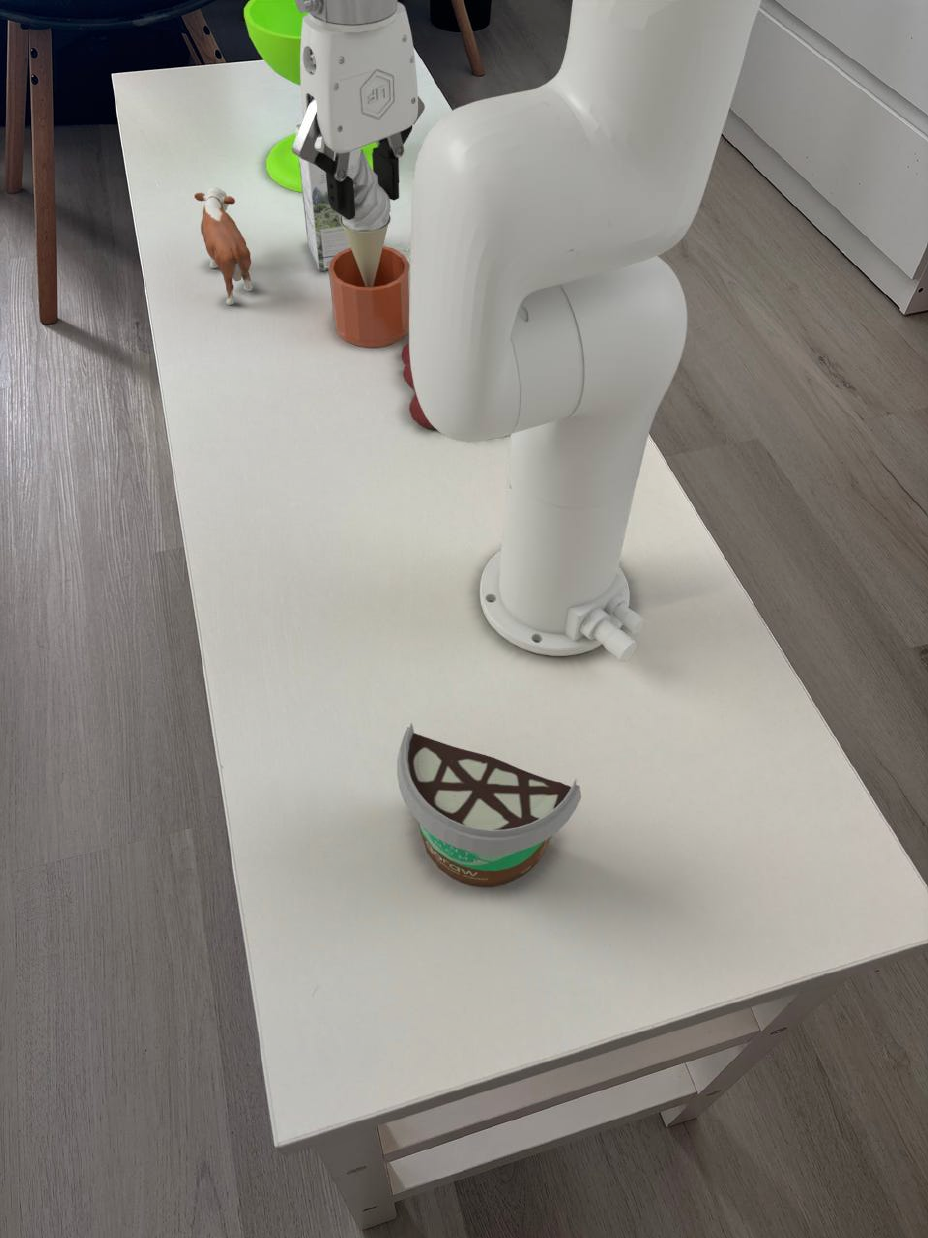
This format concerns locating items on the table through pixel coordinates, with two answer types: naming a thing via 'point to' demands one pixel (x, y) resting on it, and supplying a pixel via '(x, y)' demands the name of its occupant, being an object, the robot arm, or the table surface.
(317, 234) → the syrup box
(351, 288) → the holder cup
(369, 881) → the table surface
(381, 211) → the ice cream cone
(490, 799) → the food container
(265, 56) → the wineglass
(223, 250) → the bull figurine
